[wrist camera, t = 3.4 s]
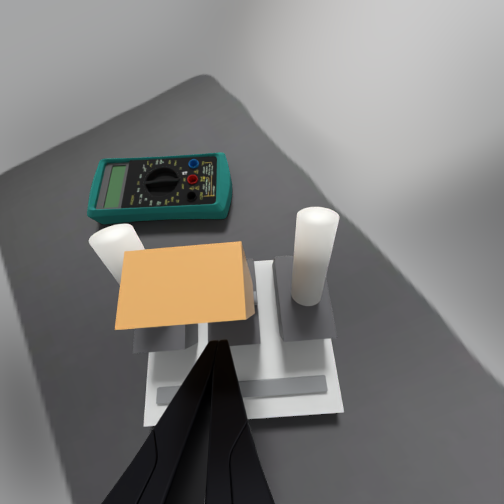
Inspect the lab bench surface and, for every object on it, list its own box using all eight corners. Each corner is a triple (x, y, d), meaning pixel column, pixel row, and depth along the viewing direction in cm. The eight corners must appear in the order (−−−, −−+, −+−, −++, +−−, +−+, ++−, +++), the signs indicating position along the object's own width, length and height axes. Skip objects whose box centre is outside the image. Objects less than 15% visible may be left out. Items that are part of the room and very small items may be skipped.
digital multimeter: (232, 221, 21) (228, 207, 18) (101, 227, 22) (77, 214, 19) (232, 166, 23) (229, 146, 21) (113, 172, 24) (93, 154, 21)
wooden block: (257, 312, 13) (254, 319, 5) (207, 317, 14) (106, 330, 5) (255, 284, 14) (248, 240, 5) (206, 288, 14) (116, 252, 5)
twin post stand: (336, 403, 16) (476, 573, 6) (154, 415, 16) (-33, 602, 6) (310, 253, 19) (366, 190, 9) (163, 265, 20) (59, 218, 9)
